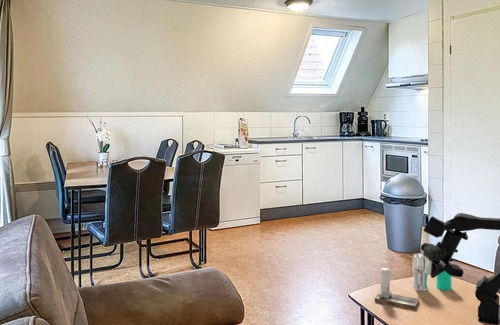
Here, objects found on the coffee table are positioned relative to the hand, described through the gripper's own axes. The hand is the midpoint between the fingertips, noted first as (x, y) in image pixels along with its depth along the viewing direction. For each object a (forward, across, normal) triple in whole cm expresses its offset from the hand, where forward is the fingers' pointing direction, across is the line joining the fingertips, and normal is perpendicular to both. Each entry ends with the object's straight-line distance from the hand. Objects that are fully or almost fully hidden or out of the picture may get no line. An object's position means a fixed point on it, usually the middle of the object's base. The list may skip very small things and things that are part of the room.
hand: (432, 277), depth 168 cm
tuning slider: (+17, -9, -8) cm, 21 cm away
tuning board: (+17, -6, -5) cm, 19 cm away
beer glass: (+15, -14, +13) cm, 24 cm away
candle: (+12, -12, +23) cm, 28 cm away
